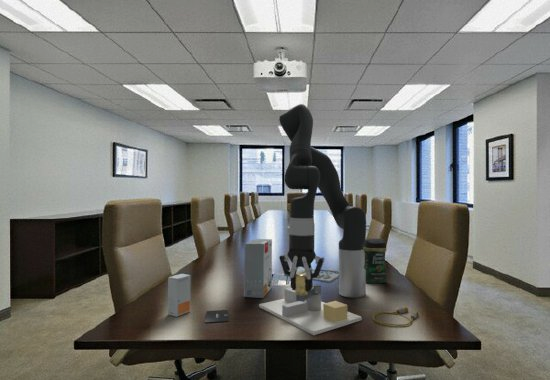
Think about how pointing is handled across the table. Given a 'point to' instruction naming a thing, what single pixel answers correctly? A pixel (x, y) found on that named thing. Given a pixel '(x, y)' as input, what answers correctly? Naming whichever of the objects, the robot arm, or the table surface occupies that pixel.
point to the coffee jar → (375, 260)
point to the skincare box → (179, 294)
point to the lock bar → (304, 288)
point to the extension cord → (400, 310)
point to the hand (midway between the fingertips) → (301, 290)
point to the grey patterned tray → (321, 275)
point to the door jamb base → (311, 312)
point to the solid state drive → (216, 316)
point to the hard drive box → (257, 267)
